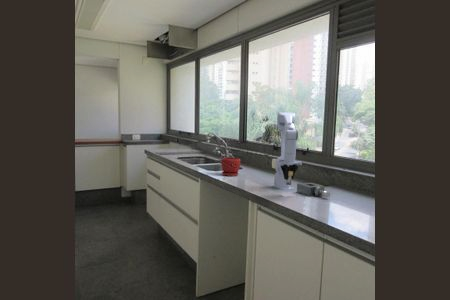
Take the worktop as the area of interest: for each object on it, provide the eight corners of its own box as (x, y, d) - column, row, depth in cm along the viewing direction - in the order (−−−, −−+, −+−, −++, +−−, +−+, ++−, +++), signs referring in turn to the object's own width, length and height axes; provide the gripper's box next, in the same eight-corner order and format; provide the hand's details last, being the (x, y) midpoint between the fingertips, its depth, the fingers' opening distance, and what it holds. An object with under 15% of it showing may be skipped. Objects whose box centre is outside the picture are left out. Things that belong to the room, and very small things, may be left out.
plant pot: (237, 177, 214) (237, 159, 213) (218, 175, 218) (219, 158, 217) (242, 174, 227) (242, 157, 226) (224, 173, 231) (225, 156, 230)
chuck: (296, 192, 173) (297, 183, 173) (311, 191, 177) (311, 182, 177) (320, 200, 157) (320, 190, 156) (335, 199, 161) (335, 189, 161)
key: (284, 183, 166) (285, 170, 165) (289, 183, 167) (289, 170, 166) (287, 184, 163) (288, 171, 163) (292, 184, 164) (293, 171, 164)
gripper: (283, 154, 157) (281, 181, 158) (306, 153, 163) (304, 179, 164) (274, 152, 163) (273, 178, 164) (297, 152, 169) (296, 177, 171)
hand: (288, 179), depth 165 cm, fingers closed on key, 3 cm apart
